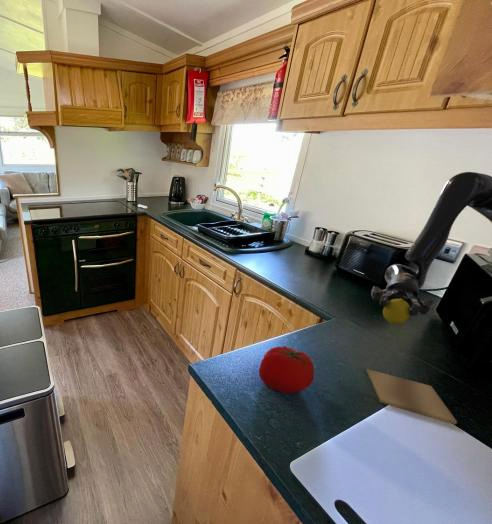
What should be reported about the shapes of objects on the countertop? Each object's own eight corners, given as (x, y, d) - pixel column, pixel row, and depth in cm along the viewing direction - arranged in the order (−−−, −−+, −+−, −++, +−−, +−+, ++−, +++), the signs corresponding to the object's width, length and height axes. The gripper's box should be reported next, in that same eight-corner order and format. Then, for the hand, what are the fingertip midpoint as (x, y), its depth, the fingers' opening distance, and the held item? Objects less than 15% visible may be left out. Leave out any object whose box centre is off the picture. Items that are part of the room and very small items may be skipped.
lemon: (375, 321, 83) (384, 296, 80) (384, 317, 85) (394, 292, 82) (398, 331, 78) (409, 305, 75) (407, 326, 80) (418, 301, 78)
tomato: (247, 370, 77) (255, 337, 73) (291, 369, 78) (301, 337, 75) (268, 404, 66) (278, 368, 63) (319, 402, 68) (332, 367, 64)
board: (430, 388, 75) (431, 385, 74) (456, 424, 64) (457, 422, 64) (365, 371, 79) (366, 368, 79) (380, 402, 69) (381, 399, 69)
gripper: (377, 272, 93) (370, 287, 81) (438, 287, 84) (440, 305, 72) (369, 293, 95) (361, 310, 83) (428, 309, 86) (428, 331, 74)
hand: (398, 308), depth 78 cm, fingers closed on lemon, 5 cm apart
